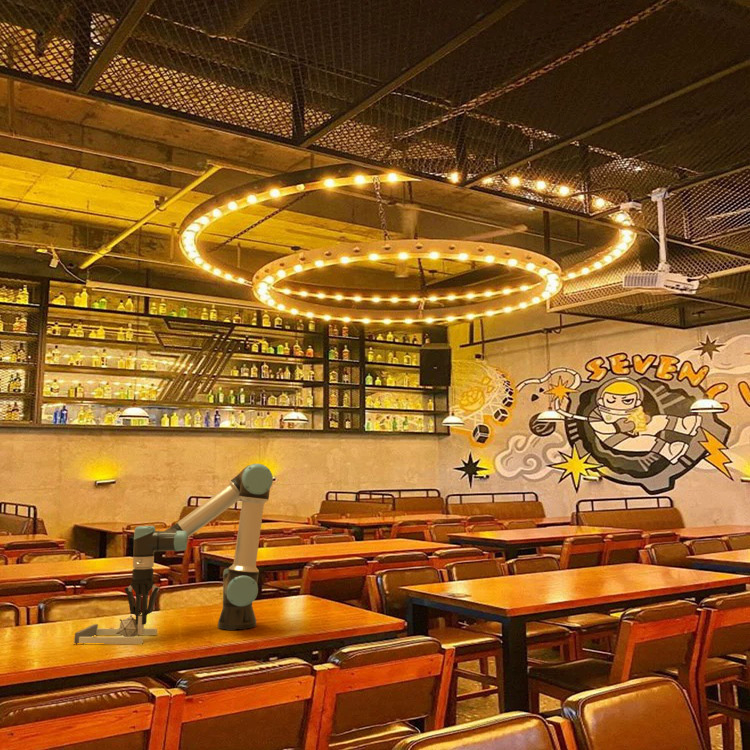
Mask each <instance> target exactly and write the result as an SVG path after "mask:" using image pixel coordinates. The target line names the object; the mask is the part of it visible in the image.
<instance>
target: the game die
mask: <svg viewBox="0 0 750 750" xmlns="http://www.w3.org/2000/svg"><path fill="white" fill-rule="evenodd" d="M119 622H120V624H119V632H118V633H119V634H121V635H123V636H122V637H140V636H139V635H138V625H136V618H134V617H133V614H130V617H128V618H124V619H121V618H120V619H119ZM118 633H117V634H118ZM136 635H138V636H136Z"/></svg>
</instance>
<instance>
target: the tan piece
mask: <svg viewBox="0 0 750 750" xmlns="http://www.w3.org/2000/svg"><path fill="white" fill-rule="evenodd" d="M98 627H99V625H98V624H97V623H95V624H92V625H89V626H88V627H85V628H83V629H81V630H79V631H76V632H75V633H74V637H73V644H74V643H104V644H142V643H143V644H144V636H134V637H124V636H94V635H121V634H119V633H118V632H119V628H120V627H119V628H117V627H116V628H115V627H109V628H98ZM117 633H118V634H117ZM138 635H157V636H158V628H156V627H155V628H154V627H153V628H152V627H151V628H146V627H144V633H143V634H138ZM92 636H93V637H92ZM143 644H142V645H143Z"/></svg>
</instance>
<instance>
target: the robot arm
mask: <svg viewBox="0 0 750 750" xmlns="http://www.w3.org/2000/svg"><path fill="white" fill-rule="evenodd" d="M273 481H274V478H273V473H272V471H271V470H270V468H268V467H267V466H266V465H264V464H261V463H252V464H249V465H247V466H246V467H245V466H244V468H243V469H242V470H241V471H240V472H239V473H238V474H237V475H236V476H234V477H233V478H232V479H231V480H230V481H229V484H228V485H227V486H225V487H223V488H222V489H220V491H218V492H217V493H215V494H214V495H213V496H212V497H210V498H209V499H208V500H206V501H204V502H203V503H201V504H200V505H199V506H197V507H196V508H195V509H193V510H192V511H191V512H190V513H188V514H187V515H185V516H184V517H182V518H181V519H179V521H177V522H176V523H174V524H173V525H171V526H170V527H169V528H166V529H165V530H156V527H155V525H139V526H136V527H135V528H134V532H133V551H132V552H133V555H132V568H133V569H132V572H131V573H132V574H131V578H132V580H131V582H130V585H129V586H126V587H125V588H124V591H125V594H126V596H127V599H128V600H127V601H128V605H129V610H130V615H135V619H136V625H138V634H143V633H144V628H145V627H144V626H145V625H147V620H148V619H147V617H148V615H149V614H152V612H153V609H154V605H155V602H156V599H157V595H158V593H159V591H160V590H161V587H160V586H157V585H155V581H154V568H153V567H154V564H155V552H180V551H181V552H182V551H186V550H187V549H188V548H187V546H188V538H190V537H191V536H193V535H194V534H195V533H196V532H197V531H199V530H200V529H203V527H204V526H206V525H207V524H209V523H211V522H212V521H213V520H215V518H217V517H219V516H220V515H221V514H222V513H224V512H225V511H227V510H228V509H229V508H231V507H232V506H233V505H235V504H237V503H238V502H239V501H240V500H241V508H240V513H239V515H240V516H239V523H238V527H237V528H238V529H237V537H236V542H235V543H236V544H235V549H234V556H233V558H234V559H233V563H232V565H230V566H229V567H228V568H224V570H223V574H222V578H223V579H222V580H223V581H222V583H223V584H222V607H221V612H220V615H219V618H218V621H217V628H218V629H219V628H220V630H223V629H226V631H237V630H236V629H244V630H248V629H247V628H250V629H253V628H252V627H254V628H255V626H257V619H256V615H255V611H254V607H253V602H254V601H255V600H256V598H257V597H258V593H259V586H258V582H259V581H258V579H259V573H260V571H259V569H258V567H257V558H258V551H259V545H260V537H261V529H262V522H263V513H264V507H265V503H267V502H268V501H269V499H270V492H271V487H272V486H273V483H274V482H273ZM133 591H134V593H135V599H134V593H133ZM150 591H152V592H151V595H150V600H149V592H150ZM148 602H149V603H148Z"/></svg>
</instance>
